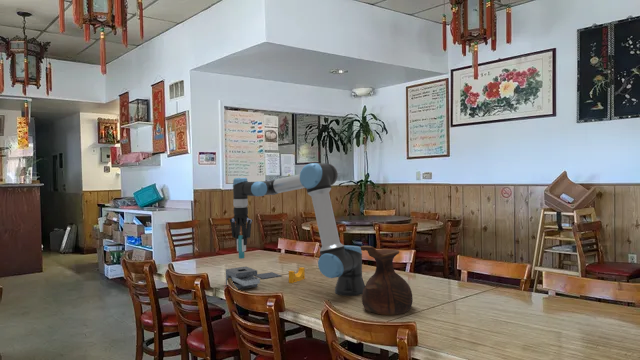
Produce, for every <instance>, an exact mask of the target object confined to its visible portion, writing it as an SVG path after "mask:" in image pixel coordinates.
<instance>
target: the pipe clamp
mask: <svg viewBox="0 0 640 360" xmlns="http://www.w3.org/2000/svg"><path fill="white" fill-rule="evenodd" d="M305 269H306V268H305V267H298V271H297V273H295V271H294V270H289V271H288V283H289V284H294V282H295V283H297V281H298V282H300V281H303V280H305V279H306V275H305V274H306V273H305V272H306V271H305Z"/></svg>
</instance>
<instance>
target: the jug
mask: <svg viewBox="0 0 640 360" xmlns="http://www.w3.org/2000/svg"><path fill="white" fill-rule="evenodd" d="M360 247H361V250H362V251H363V252H364V251H367V253H368V256H369V257H371V258H373V259H374V260H375V266H376V268H375V272H374V273H373V274H372V275H371V276H370V278H368V280H367V281H366V282H365V287H364V290H363V294H362V295H361V304H362V306H363V309H364V310H366V311H367V312H369V313H372V314H376V315H381V316H397V315H402V314H405V313H407V312H408V311H409V310H410V309H412V305H413V293H412V289H411V286H410V285H409V283H408V282H407V281H406V279H404V278H403V277H402V276H401V275H400V274H399V273H397V272H396V271H395V268H394V264H393V262H394V259H395V257H396V256H397V255H399V253H400V251H399V250H398V249H387V248H381V249H376V248H375V247H374V246H371V245H361V246H360Z"/></svg>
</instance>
